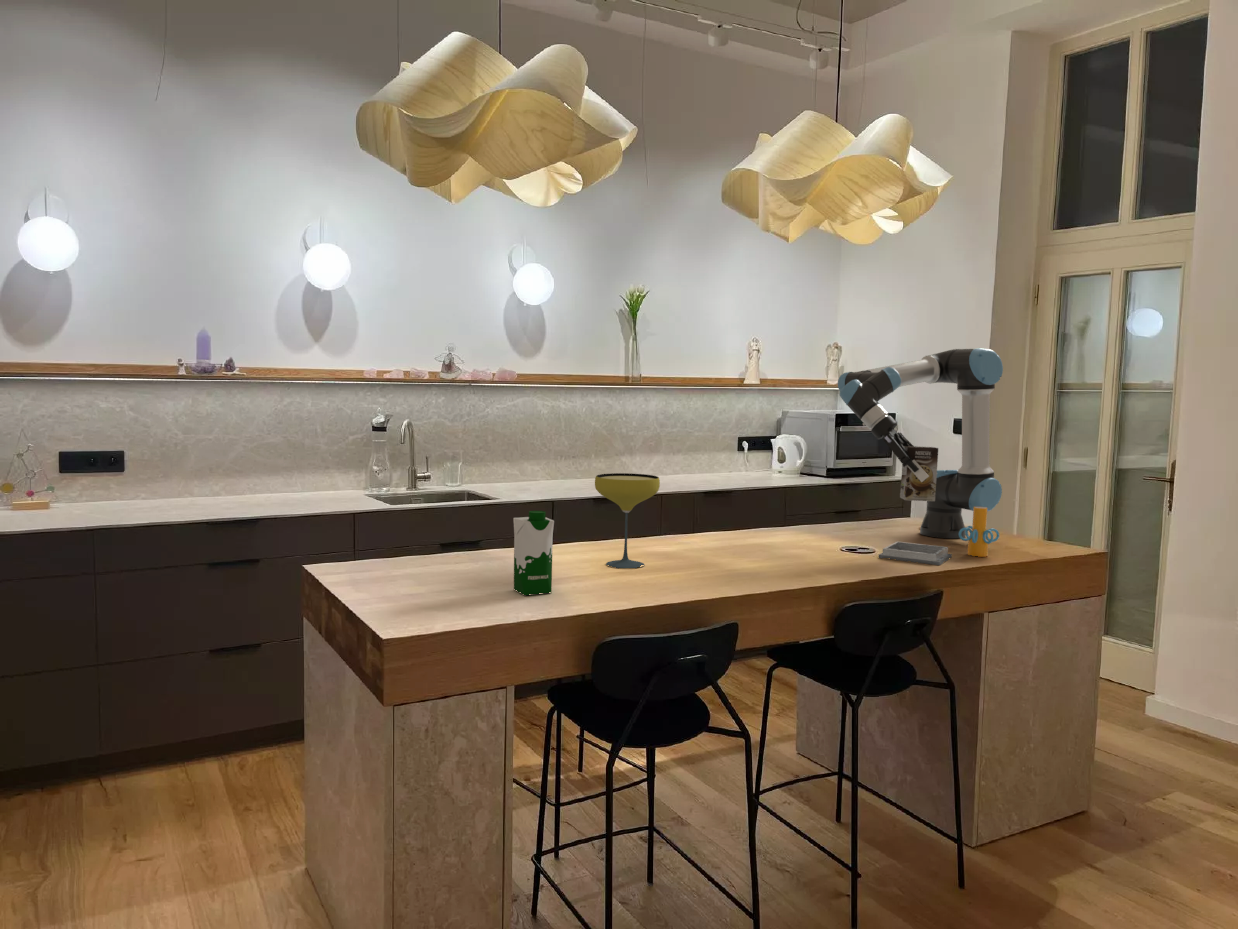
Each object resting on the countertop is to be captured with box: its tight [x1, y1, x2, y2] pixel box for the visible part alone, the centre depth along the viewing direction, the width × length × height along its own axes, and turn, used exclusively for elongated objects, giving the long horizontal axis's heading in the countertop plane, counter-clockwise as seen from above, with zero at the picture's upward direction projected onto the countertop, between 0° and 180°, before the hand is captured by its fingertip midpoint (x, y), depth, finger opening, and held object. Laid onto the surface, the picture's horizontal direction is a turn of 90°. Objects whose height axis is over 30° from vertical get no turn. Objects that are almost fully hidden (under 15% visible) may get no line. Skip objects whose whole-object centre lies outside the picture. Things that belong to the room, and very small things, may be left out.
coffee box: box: [899, 445, 939, 502], centre depth 282 cm, size 9×6×16 cm
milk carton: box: [512, 510, 555, 596], centre depth 227 cm, size 9×9×20 cm
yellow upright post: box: [959, 507, 1000, 558], centre depth 290 cm, size 12×10×15 cm
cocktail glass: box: [594, 472, 661, 569], centre depth 262 cm, size 18×18×25 cm
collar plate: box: [877, 541, 952, 566], centre depth 284 cm, size 16×18×3 cm
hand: (929, 477), depth 281 cm, fingers closed on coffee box, 9 cm apart
